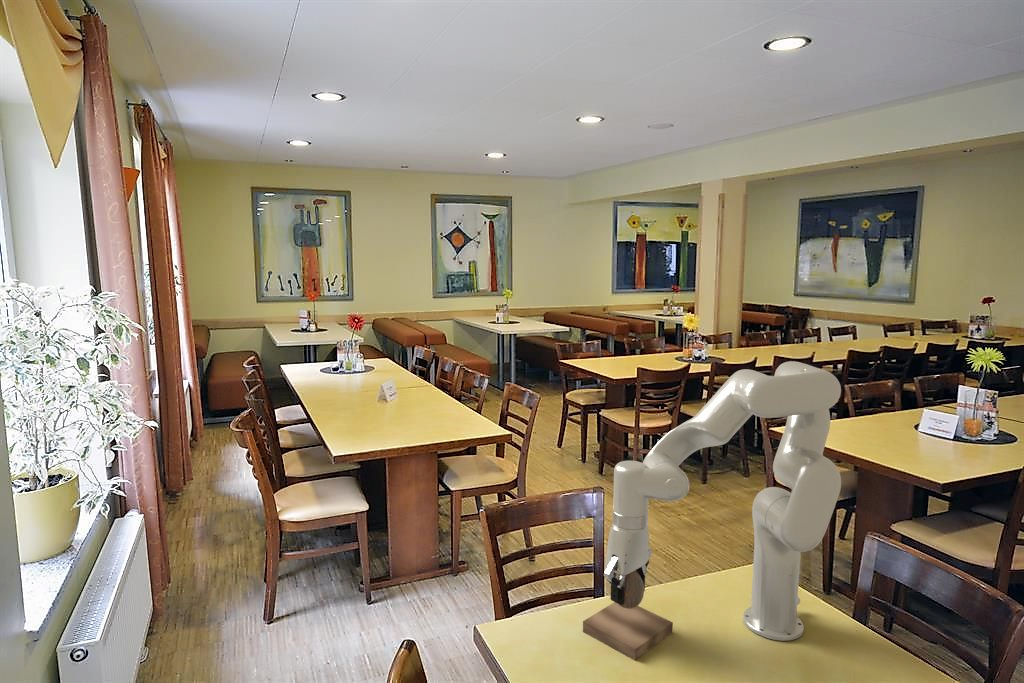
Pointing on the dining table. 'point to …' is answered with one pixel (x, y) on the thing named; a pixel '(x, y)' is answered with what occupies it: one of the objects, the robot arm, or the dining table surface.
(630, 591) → the vase
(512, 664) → the dining table surface
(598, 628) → the plinth
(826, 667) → the dining table surface
